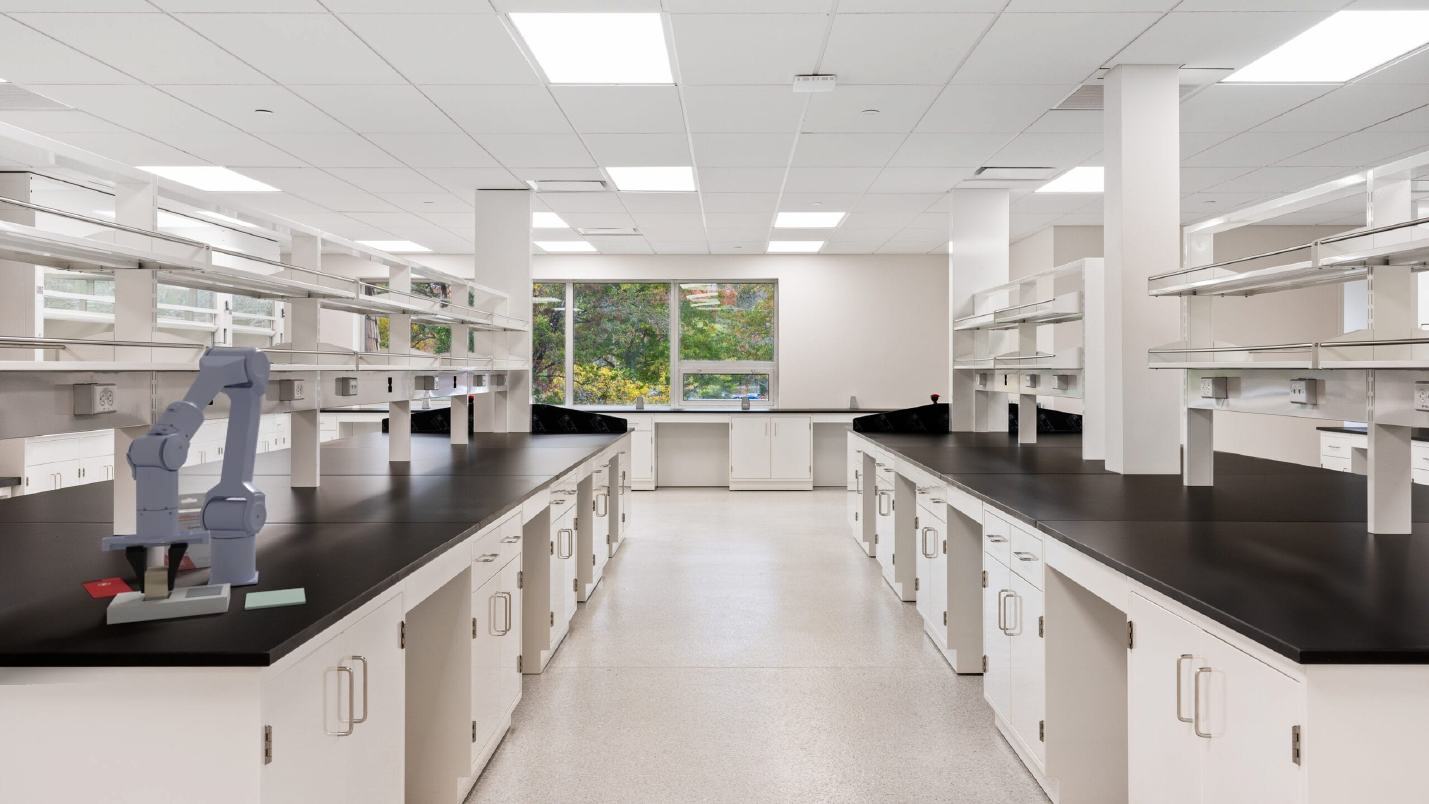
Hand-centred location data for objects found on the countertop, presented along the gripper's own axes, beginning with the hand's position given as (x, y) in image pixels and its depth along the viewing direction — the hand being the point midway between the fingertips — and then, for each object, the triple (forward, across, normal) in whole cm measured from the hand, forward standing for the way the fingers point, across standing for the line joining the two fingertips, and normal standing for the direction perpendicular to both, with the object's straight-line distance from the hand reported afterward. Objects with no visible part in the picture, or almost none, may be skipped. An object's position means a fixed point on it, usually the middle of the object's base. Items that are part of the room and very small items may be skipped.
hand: (157, 590), depth 133 cm
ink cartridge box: (+4, +2, +35) cm, 35 cm away
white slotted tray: (+3, +2, 0) cm, 4 cm away
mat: (+3, +17, 0) cm, 17 cm away
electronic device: (+4, -10, +22) cm, 24 cm away
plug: (+3, 0, 0) cm, 3 cm away
